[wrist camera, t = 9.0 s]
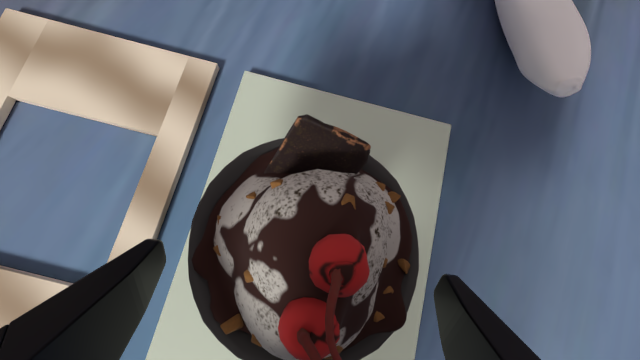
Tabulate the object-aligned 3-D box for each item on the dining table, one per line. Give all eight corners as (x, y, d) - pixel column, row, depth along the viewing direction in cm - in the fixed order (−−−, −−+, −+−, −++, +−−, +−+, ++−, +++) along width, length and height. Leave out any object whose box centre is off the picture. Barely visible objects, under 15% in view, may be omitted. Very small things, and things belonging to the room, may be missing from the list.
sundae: (305, 325, 17) (339, 824, 2) (227, 245, 18) (-122, 267, 3) (378, 242, 18) (681, 246, 4) (302, 170, 19) (307, -65, 4)
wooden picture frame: (108, 371, 16) (101, 376, 16) (-154, 307, 16) (-170, 309, 16) (219, 68, 21) (217, 63, 20) (14, 14, 21) (6, 8, 20)
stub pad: (396, 442, 17) (400, 450, 16) (142, 380, 16) (136, 385, 16) (447, 127, 21) (451, 124, 20) (246, 75, 21) (244, 70, 20)
